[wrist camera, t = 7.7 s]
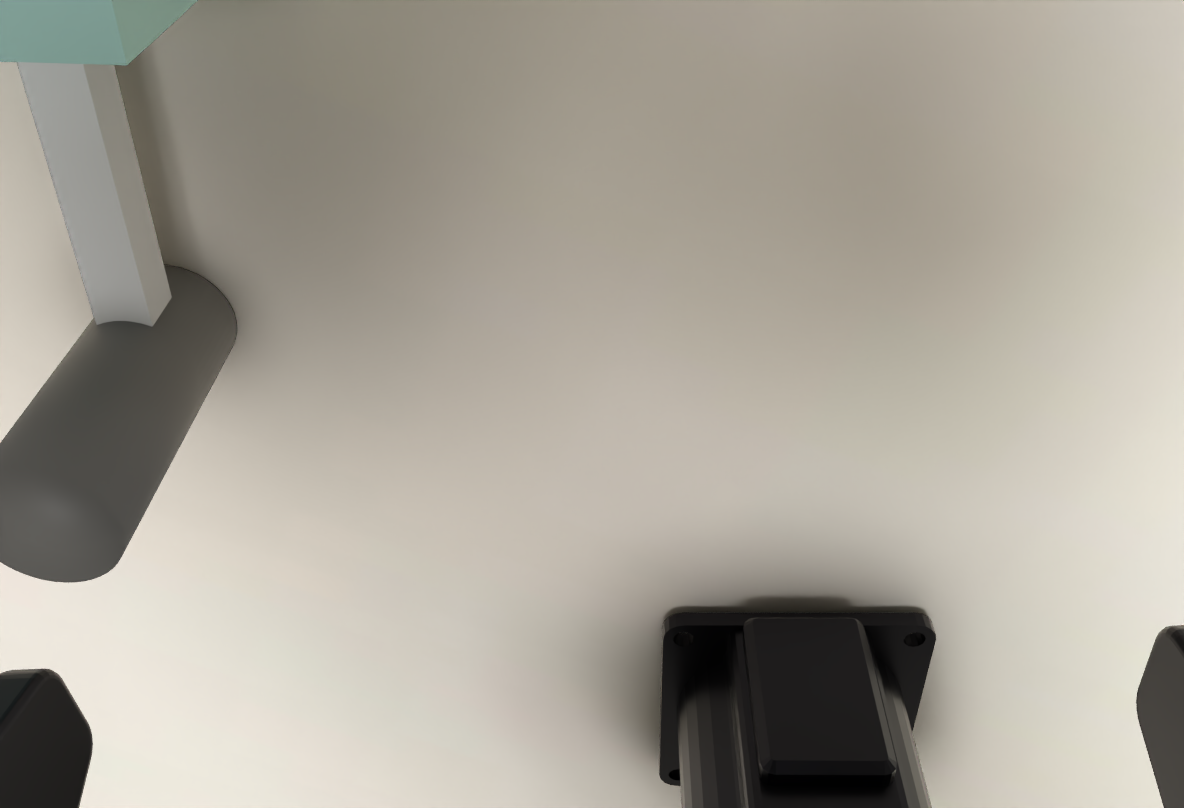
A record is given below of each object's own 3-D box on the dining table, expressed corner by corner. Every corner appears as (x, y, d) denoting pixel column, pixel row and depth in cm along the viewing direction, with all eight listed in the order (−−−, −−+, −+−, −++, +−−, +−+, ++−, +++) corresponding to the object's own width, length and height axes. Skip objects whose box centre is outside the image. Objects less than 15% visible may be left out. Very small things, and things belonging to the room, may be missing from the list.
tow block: (334, 372, 22) (252, 588, 17) (42, 363, 22) (-123, 576, 17) (191, -581, 13) (-56, -694, 8) (-291, -594, 13) (-816, -715, 8)
